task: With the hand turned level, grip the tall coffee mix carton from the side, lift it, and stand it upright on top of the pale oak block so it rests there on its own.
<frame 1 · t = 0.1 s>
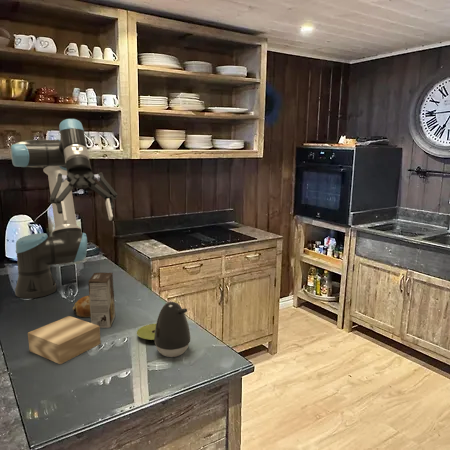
hand: (88, 220, 125), 36 cm above the counter, tool tilted 35°, fingers open, 13 cm apart
coffee box: (103, 322, 137), on the counter
oak block: (65, 348, 120), on the counter
pump dispenser: (173, 353, 117), on the counter
green textured disc: (155, 337, 127), on the counter
bread roll: (88, 313, 146), on the counter
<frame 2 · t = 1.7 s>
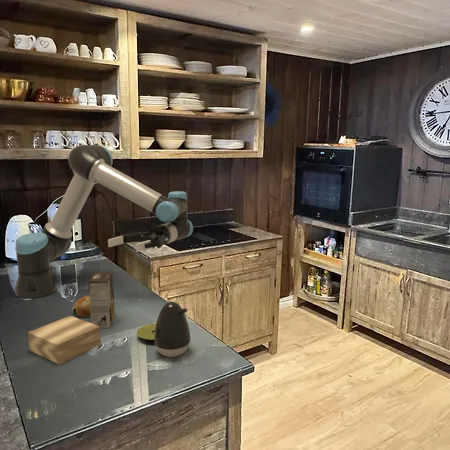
hand: (122, 245, 141), 24 cm above the counter, tool horizontal, fingers open, 13 cm apart
nothing on the counter moved.
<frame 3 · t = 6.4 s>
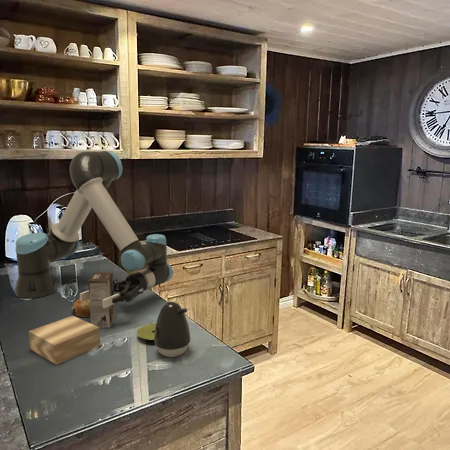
hand: (91, 300, 132), 9 cm above the counter, tool horizontal, fingers closed on coffee box, 10 cm apart
coffee box: (103, 322, 137), on the counter, touching gripper
everything else where it was.
when the fingers open (16 cm above the counter, at t = 13.8 s): coffee box drops 2 cm, point 5 cm above the counter.
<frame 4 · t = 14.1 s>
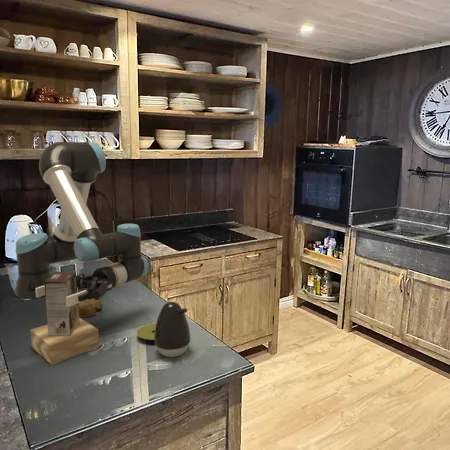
hand: (51, 297, 114), 16 cm above the counter, tool horizontal, fingers open, 13 cm apart
coffee box: (64, 329, 119), point 5 cm above the counter
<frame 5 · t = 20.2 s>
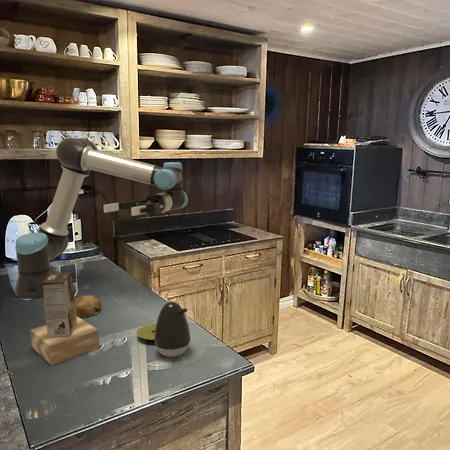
hand: (117, 210, 143), 36 cm above the counter, tool horizontal, fingers open, 13 cm apart
coffee box: (63, 330, 119), point 5 cm above the counter, touching oak block
oak block: (65, 348, 120), on the counter, touching coffee box
at the end: coffee box inside the target area on the oak block (0.3 cm from its centre), point 5.9 cm above the oak block's base; coffee box tilted 1°; the gripper is holding nothing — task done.
